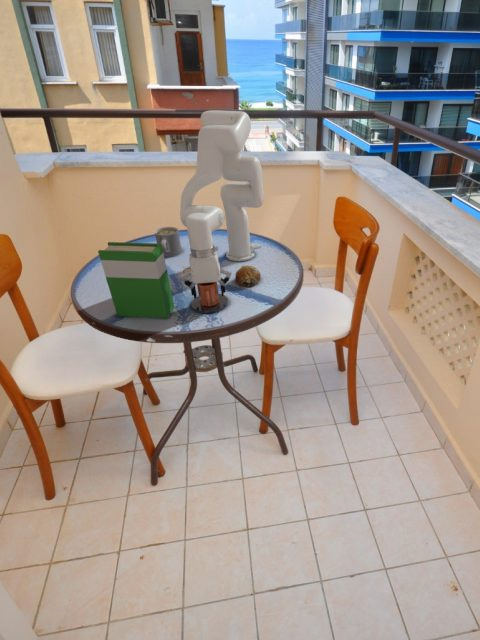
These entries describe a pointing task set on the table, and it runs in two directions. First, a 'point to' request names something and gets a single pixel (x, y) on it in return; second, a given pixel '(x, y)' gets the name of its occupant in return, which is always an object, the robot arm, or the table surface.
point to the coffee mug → (169, 240)
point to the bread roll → (247, 276)
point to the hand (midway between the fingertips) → (209, 295)
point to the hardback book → (137, 279)
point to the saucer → (210, 309)
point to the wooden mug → (208, 293)
